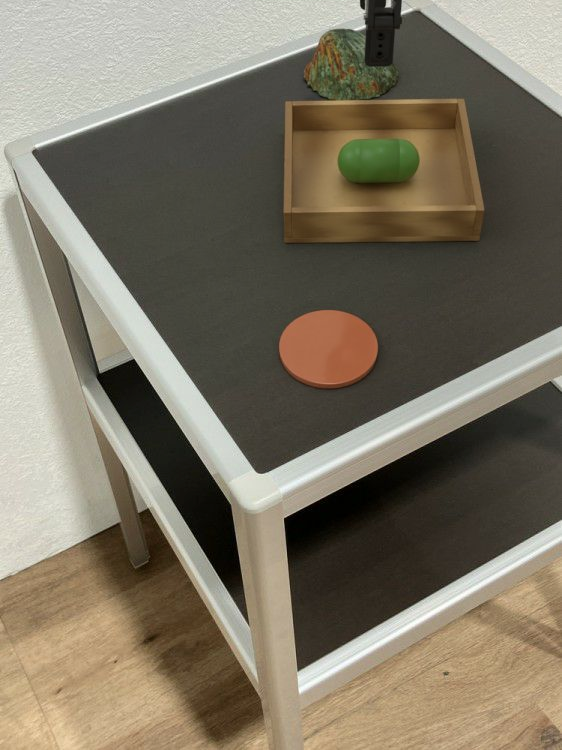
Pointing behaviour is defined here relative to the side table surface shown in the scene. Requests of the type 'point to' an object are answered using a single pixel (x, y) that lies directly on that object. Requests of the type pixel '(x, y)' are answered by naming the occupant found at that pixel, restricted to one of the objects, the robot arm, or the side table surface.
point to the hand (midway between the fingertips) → (375, 34)
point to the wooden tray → (380, 200)
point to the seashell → (346, 68)
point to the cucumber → (378, 160)
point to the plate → (328, 349)
